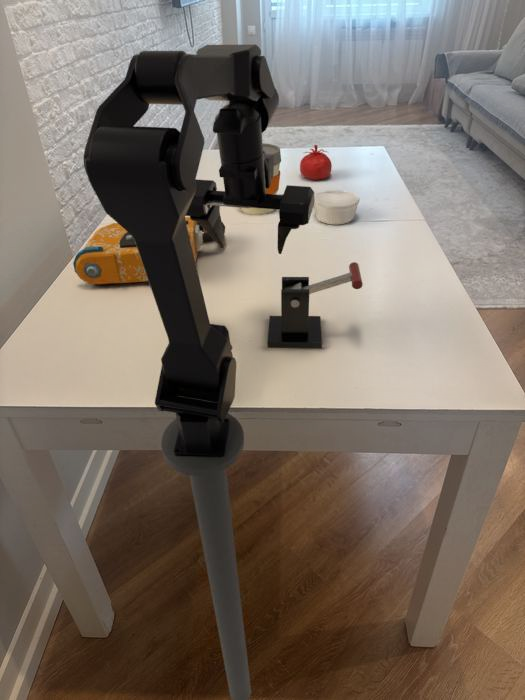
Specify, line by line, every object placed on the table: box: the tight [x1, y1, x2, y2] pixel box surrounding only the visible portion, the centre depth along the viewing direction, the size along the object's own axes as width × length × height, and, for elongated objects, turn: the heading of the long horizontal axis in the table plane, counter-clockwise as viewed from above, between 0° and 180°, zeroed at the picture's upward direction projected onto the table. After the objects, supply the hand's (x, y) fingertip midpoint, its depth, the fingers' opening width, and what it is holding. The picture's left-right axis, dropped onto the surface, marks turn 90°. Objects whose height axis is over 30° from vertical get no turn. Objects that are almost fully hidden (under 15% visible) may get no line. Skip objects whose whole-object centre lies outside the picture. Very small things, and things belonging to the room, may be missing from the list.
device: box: [72, 216, 226, 286], centre depth 105 cm, size 23×8×30 cm
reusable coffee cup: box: [240, 142, 282, 216], centre depth 126 cm, size 13×13×15 cm
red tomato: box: [299, 144, 333, 181], centre depth 147 cm, size 10×10×9 cm
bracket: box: [266, 276, 323, 349], centre depth 81 cm, size 9×8×10 cm
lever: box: [285, 261, 364, 295], centre depth 78 cm, size 12×6×2 cm, turn 87°
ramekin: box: [314, 190, 360, 226], centre depth 122 cm, size 11×11×5 cm
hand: (251, 249), depth 76 cm, fingers open, 9 cm apart
